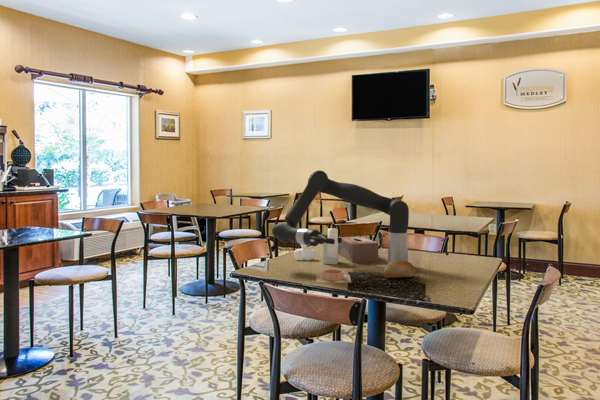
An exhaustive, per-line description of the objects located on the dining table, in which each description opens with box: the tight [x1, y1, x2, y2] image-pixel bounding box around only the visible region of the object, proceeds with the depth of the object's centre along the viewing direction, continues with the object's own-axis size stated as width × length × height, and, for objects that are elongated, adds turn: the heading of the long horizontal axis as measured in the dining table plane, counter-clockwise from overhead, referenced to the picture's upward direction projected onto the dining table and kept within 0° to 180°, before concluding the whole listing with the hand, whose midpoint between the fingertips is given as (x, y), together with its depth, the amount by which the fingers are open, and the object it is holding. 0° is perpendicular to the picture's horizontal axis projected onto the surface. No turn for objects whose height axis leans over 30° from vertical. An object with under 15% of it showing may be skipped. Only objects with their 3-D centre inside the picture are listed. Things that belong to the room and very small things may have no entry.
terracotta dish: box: [321, 268, 345, 281], centre depth 210 cm, size 9×9×3 cm
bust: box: [293, 244, 317, 262], centre depth 261 cm, size 12×8×11 cm
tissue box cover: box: [338, 235, 379, 264], centre depth 266 cm, size 26×14×10 cm, turn 12°
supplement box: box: [322, 244, 339, 265], centre depth 251 cm, size 7×7×13 cm
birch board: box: [315, 273, 352, 284], centre depth 210 cm, size 15×15×2 cm
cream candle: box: [327, 226, 339, 258], centre depth 209 cm, size 4×4×13 cm
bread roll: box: [382, 260, 417, 279], centre depth 217 cm, size 10×15×8 cm, turn 96°
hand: (337, 241), depth 207 cm, fingers closed on cream candle, 4 cm apart
